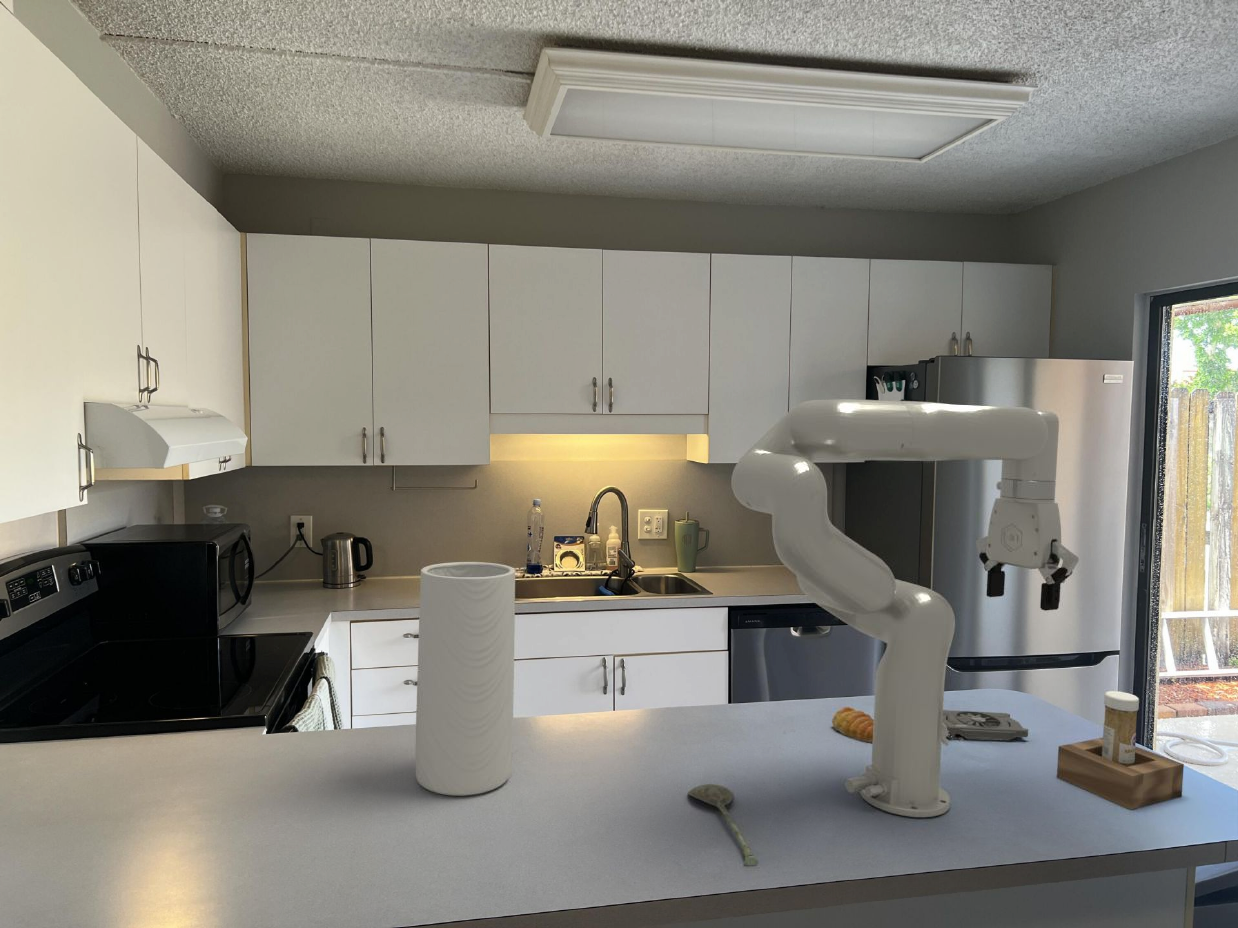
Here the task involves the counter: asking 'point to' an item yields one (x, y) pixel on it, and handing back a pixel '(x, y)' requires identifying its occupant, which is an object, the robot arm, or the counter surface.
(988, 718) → the graphics card
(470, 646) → the vase
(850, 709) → the pastry
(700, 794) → the soupspoon
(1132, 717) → the sprinkles bottle
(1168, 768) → the walnut holder
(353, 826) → the counter surface
